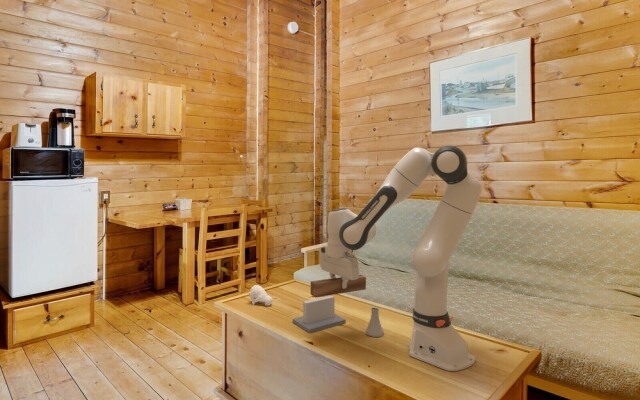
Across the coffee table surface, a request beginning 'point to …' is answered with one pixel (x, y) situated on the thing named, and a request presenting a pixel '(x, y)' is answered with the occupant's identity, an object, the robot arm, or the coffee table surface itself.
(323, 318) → the stand
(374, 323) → the flask
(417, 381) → the coffee table surface
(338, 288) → the walnut stick
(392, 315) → the coffee table surface
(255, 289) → the white animal figurine
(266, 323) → the coffee table surface
